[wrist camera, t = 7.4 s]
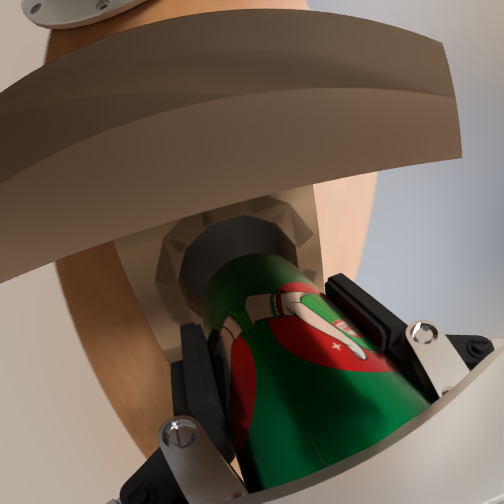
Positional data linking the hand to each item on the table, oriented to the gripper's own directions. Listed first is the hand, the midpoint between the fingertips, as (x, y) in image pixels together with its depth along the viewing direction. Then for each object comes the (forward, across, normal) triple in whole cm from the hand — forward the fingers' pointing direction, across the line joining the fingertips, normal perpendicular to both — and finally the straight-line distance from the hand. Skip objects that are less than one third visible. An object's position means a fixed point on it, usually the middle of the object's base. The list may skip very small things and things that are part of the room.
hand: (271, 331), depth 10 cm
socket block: (+8, +1, -3) cm, 8 cm away
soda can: (+3, 0, 0) cm, 3 cm away
